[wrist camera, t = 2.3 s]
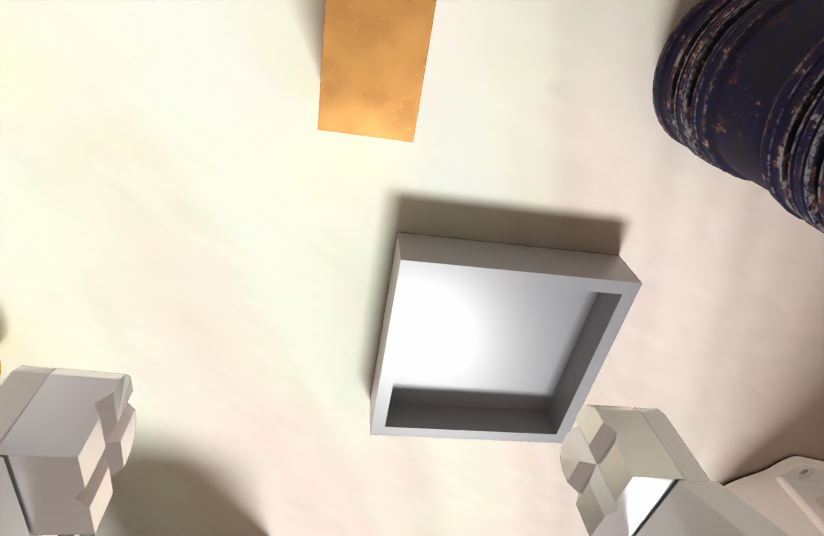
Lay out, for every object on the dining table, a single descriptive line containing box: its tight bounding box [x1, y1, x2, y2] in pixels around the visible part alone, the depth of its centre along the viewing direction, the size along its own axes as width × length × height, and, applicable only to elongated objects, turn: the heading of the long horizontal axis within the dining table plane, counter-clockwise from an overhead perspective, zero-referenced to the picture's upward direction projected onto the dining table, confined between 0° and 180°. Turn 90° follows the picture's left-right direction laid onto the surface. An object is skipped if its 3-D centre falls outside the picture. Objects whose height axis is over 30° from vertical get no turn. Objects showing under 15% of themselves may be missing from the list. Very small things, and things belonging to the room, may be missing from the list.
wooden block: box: [318, 0, 436, 142], centre depth 24 cm, size 4×8×6 cm, turn 171°
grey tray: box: [370, 232, 642, 443], centre depth 37 cm, size 16×16×4 cm
